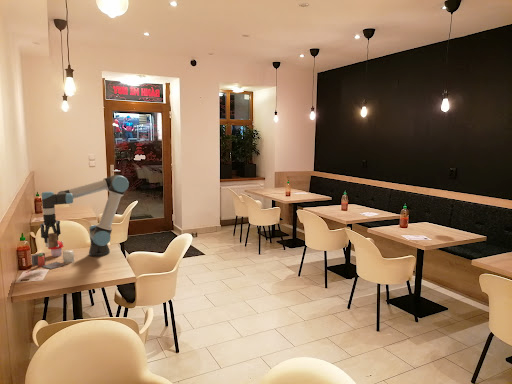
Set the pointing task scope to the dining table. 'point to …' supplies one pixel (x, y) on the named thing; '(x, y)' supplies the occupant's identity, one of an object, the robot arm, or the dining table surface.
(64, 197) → the robot arm
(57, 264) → the slate coaster
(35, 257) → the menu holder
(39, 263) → the sauce shaker
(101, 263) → the dining table surface
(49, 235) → the walnut block
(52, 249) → the mushroom
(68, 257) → the beige rounded block
